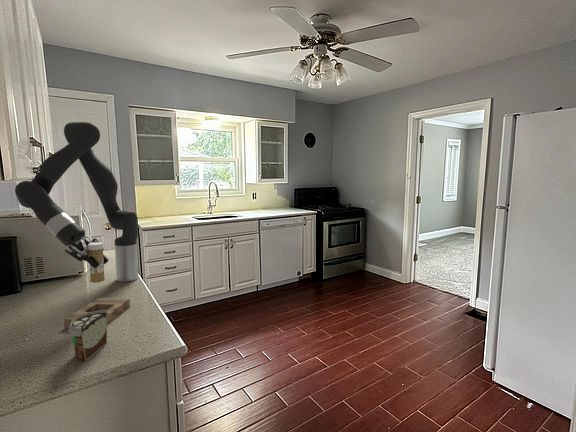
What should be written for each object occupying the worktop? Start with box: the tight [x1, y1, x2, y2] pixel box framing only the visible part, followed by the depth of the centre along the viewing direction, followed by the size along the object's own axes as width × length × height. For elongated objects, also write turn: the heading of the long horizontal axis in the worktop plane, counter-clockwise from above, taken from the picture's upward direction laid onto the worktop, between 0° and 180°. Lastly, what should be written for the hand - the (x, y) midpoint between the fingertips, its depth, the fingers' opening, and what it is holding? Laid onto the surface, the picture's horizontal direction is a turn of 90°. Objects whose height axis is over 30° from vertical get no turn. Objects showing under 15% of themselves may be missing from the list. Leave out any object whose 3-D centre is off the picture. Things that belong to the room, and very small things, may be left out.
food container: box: [68, 310, 109, 363], centre depth 87 cm, size 12×6×10 cm, turn 178°
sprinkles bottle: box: [88, 241, 106, 284], centre depth 108 cm, size 5×5×14 cm
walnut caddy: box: [63, 297, 131, 329], centre depth 110 cm, size 18×12×3 cm, turn 179°
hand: (102, 264), depth 108 cm, fingers closed on sprinkles bottle, 4 cm apart
